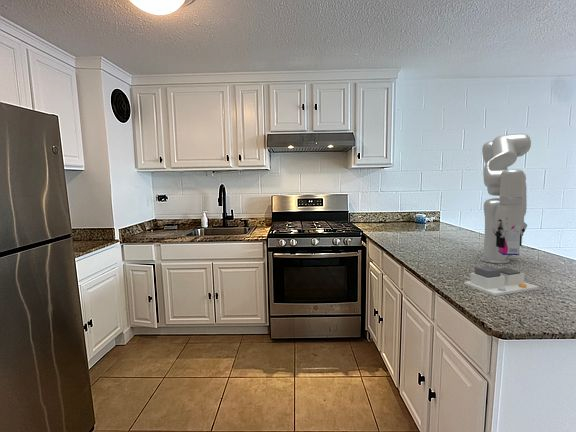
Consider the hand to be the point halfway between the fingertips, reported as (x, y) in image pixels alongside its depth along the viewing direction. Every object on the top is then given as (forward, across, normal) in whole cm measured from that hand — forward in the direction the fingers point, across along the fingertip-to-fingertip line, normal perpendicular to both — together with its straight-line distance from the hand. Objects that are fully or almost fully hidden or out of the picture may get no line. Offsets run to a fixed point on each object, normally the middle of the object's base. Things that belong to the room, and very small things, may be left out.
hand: (508, 246), depth 126 cm
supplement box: (+3, 0, 0) cm, 3 cm away
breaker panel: (+16, +5, +1) cm, 16 cm away
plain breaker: (+12, +10, 0) cm, 16 cm away
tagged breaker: (+14, 0, 0) cm, 14 cm away
